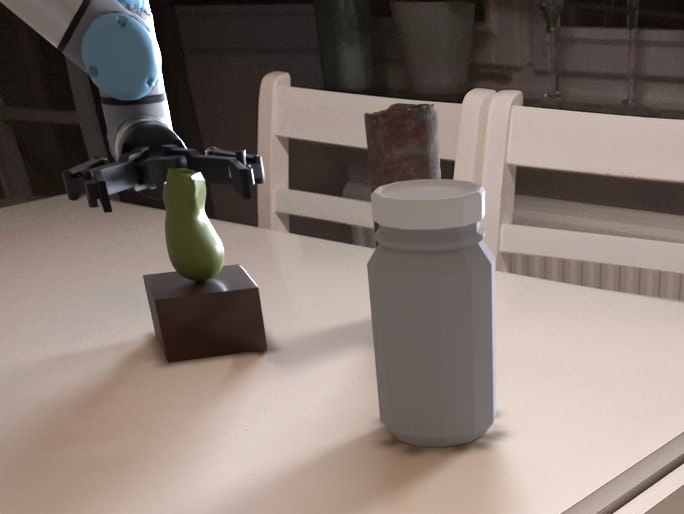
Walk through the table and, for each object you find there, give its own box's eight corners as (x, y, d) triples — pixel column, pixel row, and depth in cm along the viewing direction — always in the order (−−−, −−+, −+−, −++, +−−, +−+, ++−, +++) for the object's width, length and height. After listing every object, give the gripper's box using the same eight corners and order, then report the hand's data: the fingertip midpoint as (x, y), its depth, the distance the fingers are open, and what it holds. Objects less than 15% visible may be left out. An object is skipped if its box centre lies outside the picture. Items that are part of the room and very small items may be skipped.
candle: (403, 332, 105) (388, 110, 93) (367, 316, 110) (348, 103, 98) (462, 318, 109) (455, 102, 96) (425, 303, 113) (414, 95, 101)
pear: (182, 273, 103) (161, 163, 97) (233, 272, 103) (215, 161, 96) (167, 288, 98) (144, 173, 92) (221, 287, 98) (201, 172, 92)
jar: (410, 401, 89) (395, 174, 78) (513, 414, 86) (513, 179, 75) (361, 442, 82) (337, 198, 71) (471, 458, 79) (464, 206, 68)
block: (167, 363, 99) (154, 299, 95) (155, 335, 106) (142, 274, 103) (267, 349, 102) (258, 287, 98) (249, 322, 109) (239, 263, 105)
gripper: (265, 184, 120) (305, 219, 104) (46, 205, 113) (54, 245, 98) (255, 111, 115) (296, 136, 100) (26, 128, 109) (31, 157, 93)
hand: (176, 190), depth 99 cm, fingers open, 13 cm apart
